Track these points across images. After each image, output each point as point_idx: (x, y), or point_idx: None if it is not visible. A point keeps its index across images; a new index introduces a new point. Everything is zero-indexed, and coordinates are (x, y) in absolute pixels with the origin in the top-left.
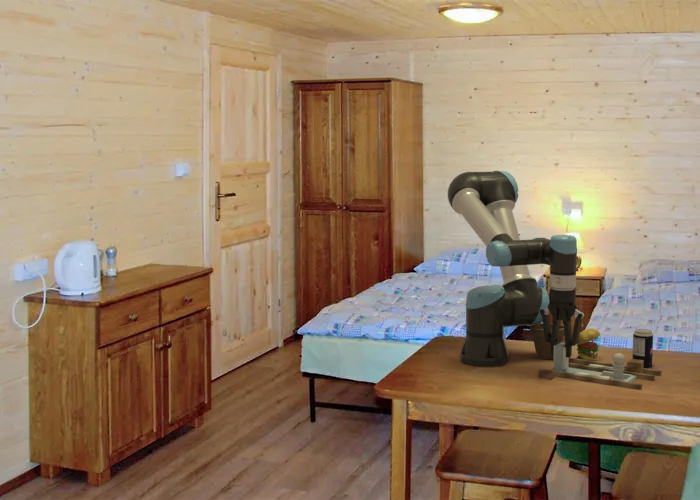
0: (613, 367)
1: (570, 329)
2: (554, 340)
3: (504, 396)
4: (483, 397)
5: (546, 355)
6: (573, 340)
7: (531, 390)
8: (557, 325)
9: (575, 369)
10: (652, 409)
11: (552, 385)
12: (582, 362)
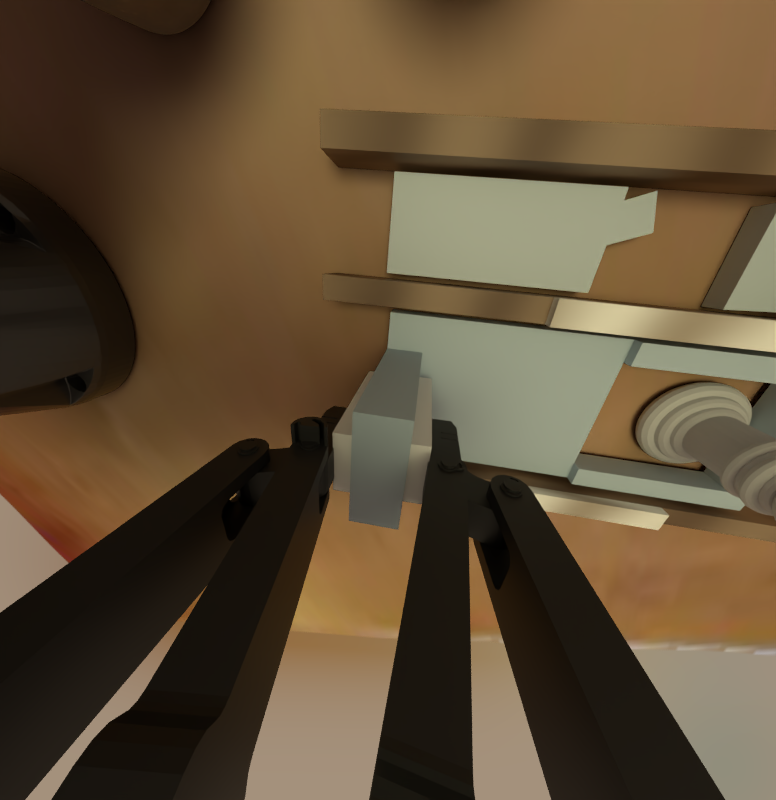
0: (733, 490)
1: (463, 639)
2: (322, 520)
3: (339, 609)
4: (305, 620)
5: (170, 20)
6: (499, 573)
7: (376, 563)
8: (263, 688)
9: (463, 343)
10: (760, 629)
11: (415, 510)
12: (481, 161)
